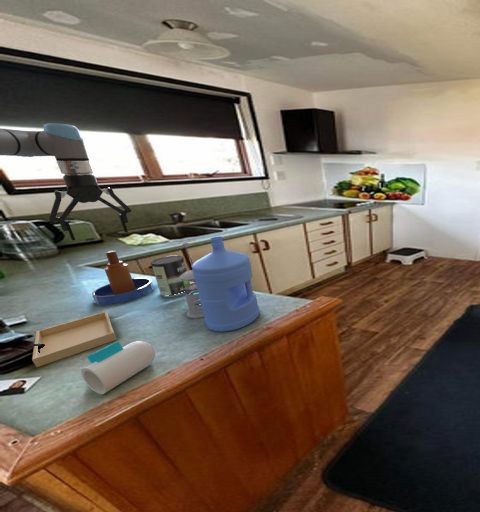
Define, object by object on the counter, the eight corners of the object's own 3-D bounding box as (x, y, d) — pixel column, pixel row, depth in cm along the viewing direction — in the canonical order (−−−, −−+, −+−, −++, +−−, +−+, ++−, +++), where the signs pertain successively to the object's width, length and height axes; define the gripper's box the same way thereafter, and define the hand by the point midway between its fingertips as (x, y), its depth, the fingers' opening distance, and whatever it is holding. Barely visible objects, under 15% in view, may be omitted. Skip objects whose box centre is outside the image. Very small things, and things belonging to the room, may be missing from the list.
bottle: (116, 299, 103) (99, 255, 97) (114, 295, 107) (97, 252, 101) (137, 294, 108) (123, 251, 102) (135, 289, 112) (120, 248, 106)
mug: (146, 327, 68) (85, 358, 58) (166, 356, 70) (110, 392, 59) (123, 335, 73) (62, 366, 62) (142, 363, 75) (86, 398, 64)
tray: (36, 367, 70) (32, 359, 69) (39, 338, 82) (36, 331, 81) (116, 339, 80) (113, 332, 79) (109, 317, 92) (106, 310, 92)
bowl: (97, 311, 96) (93, 301, 95) (94, 296, 107) (90, 287, 106) (158, 294, 108) (155, 285, 107) (149, 282, 119) (146, 274, 118)
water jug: (197, 335, 82) (172, 246, 72) (219, 309, 96) (200, 233, 87) (252, 330, 84) (234, 243, 75) (265, 305, 98) (251, 230, 89)
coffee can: (195, 285, 116) (187, 254, 112) (186, 295, 107) (177, 262, 102) (167, 288, 113) (157, 256, 109) (155, 299, 104) (144, 265, 100)
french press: (179, 314, 93) (159, 245, 85) (211, 299, 103) (195, 236, 95) (199, 320, 90) (179, 248, 82) (229, 304, 100) (215, 238, 92)
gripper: (18, 176, 80) (48, 245, 87) (129, 173, 98) (147, 230, 105) (19, 176, 84) (48, 241, 91) (125, 173, 103) (142, 227, 110)
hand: (101, 235), depth 98 cm, fingers open, 13 cm apart
